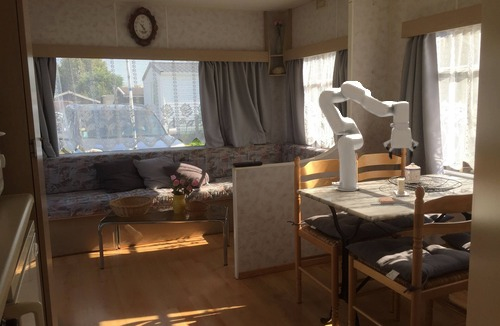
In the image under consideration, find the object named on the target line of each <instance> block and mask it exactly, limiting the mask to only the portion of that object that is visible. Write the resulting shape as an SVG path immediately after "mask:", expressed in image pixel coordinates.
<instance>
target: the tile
mask: <svg viewBox="0 0 500 326" xmlns="http://www.w3.org/2000/svg"><path fill="white" fill-rule="evenodd" d="M378 201H379V204H395V200H394V199H393V198H392V196H378Z"/></svg>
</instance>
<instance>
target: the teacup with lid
mask: <svg viewBox="0 0 500 326" xmlns="http://www.w3.org/2000/svg"><path fill="white" fill-rule="evenodd" d="M404 180H405V183H406V184H410V183H417V184H420V183H421V167H420V166H418V165H416V164H415V163H414V162H412V163H410V164H409V165H407V166H404ZM419 182H420V183H419Z"/></svg>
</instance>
